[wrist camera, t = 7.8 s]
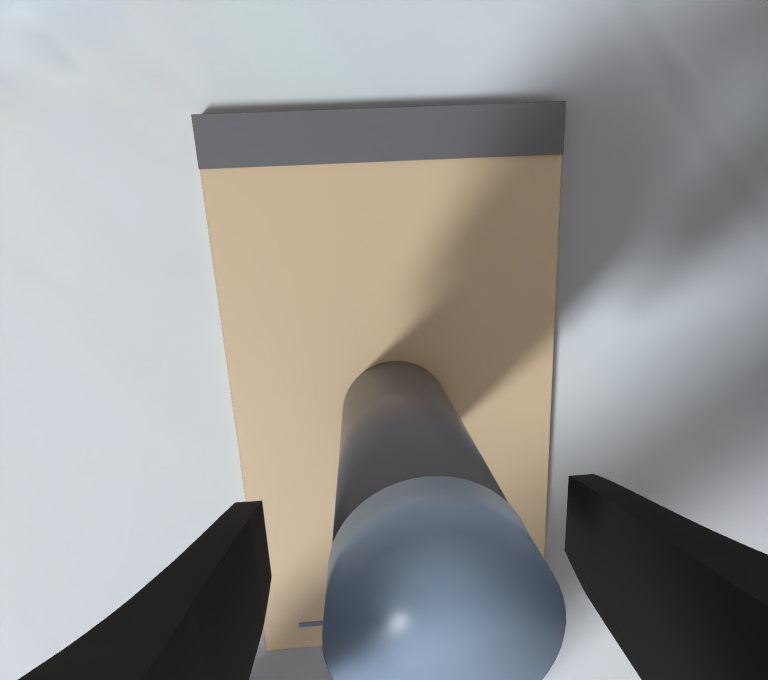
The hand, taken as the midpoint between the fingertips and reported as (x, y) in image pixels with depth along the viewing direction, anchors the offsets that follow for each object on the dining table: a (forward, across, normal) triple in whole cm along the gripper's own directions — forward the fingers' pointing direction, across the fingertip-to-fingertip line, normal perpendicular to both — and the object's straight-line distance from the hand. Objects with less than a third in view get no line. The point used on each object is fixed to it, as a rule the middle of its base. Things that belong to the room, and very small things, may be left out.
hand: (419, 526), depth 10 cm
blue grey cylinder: (+7, 0, 0) cm, 7 cm away
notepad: (+7, 0, 0) cm, 7 cm away
